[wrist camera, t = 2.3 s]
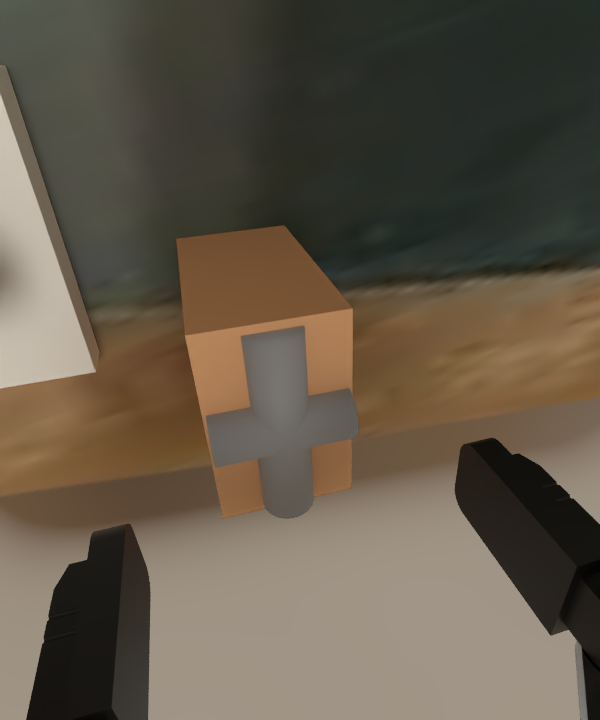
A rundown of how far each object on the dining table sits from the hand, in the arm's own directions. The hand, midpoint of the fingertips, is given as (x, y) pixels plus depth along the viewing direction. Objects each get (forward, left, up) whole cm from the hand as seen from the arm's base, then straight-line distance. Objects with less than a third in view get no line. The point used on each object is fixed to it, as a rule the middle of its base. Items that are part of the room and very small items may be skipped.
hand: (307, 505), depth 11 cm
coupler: (0, 0, -11) cm, 11 cm away
